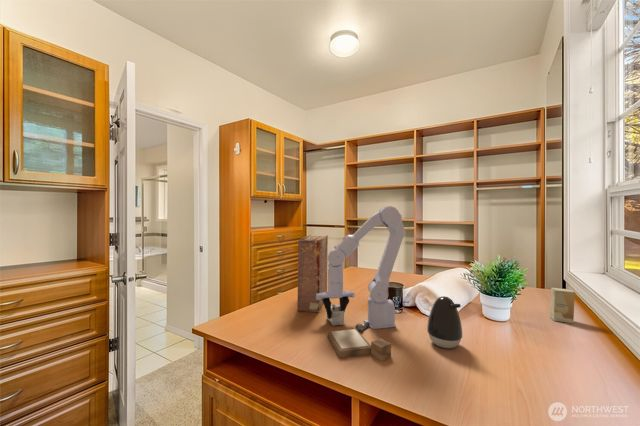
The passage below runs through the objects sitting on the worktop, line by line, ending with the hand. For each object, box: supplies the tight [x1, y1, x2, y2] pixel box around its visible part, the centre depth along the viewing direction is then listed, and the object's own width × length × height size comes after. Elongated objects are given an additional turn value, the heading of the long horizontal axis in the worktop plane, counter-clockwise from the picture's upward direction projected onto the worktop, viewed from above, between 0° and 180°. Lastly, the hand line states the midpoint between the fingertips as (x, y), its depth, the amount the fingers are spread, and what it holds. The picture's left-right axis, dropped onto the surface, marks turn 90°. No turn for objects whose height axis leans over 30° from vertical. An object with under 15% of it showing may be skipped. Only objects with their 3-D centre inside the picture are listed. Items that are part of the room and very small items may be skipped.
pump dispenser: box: [426, 295, 464, 349], centre depth 86 cm, size 10×10×15 cm
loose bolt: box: [355, 322, 370, 333], centre depth 97 cm, size 6×3×3 cm, turn 140°
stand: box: [327, 328, 371, 359], centre depth 85 cm, size 10×13×2 cm
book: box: [297, 234, 329, 313], centre depth 125 cm, size 25×9×30 cm, turn 171°
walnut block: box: [370, 338, 392, 362], centre depth 79 cm, size 4×4×4 cm
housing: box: [326, 303, 345, 327], centre depth 103 cm, size 4×8×6 cm, turn 14°
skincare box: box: [549, 287, 576, 324], centre depth 107 cm, size 6×4×12 cm
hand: (335, 317), depth 103 cm, fingers closed on housing, 4 cm apart
